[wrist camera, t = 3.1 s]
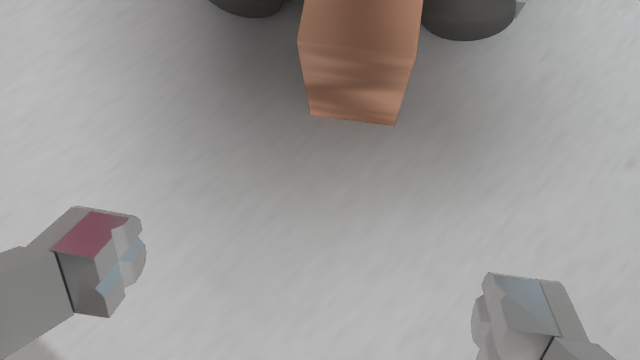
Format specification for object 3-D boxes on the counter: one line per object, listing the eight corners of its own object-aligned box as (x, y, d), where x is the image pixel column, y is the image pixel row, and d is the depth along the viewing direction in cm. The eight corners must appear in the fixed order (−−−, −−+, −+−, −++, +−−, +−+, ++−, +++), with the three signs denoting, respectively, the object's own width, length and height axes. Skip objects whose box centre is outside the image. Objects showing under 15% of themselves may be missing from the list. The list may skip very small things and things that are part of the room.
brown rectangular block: (310, 115, 26) (296, 41, 18) (323, 40, 27) (315, -59, 19) (394, 126, 25) (416, 55, 18) (404, 49, 27) (428, -48, 19)
